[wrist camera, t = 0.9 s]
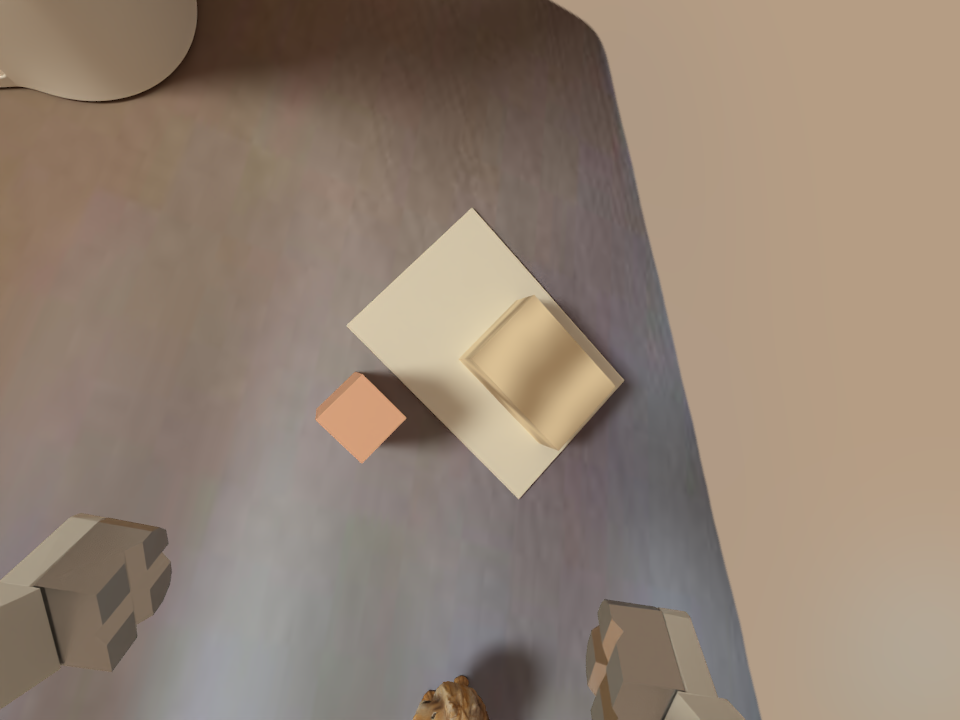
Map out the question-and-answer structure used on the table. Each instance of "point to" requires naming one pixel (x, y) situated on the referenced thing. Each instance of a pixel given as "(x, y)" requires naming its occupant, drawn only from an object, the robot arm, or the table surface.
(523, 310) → the plinth
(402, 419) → the pillar
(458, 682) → the lion figurine
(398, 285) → the mat
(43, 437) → the table surface
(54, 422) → the table surface
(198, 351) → the table surface
